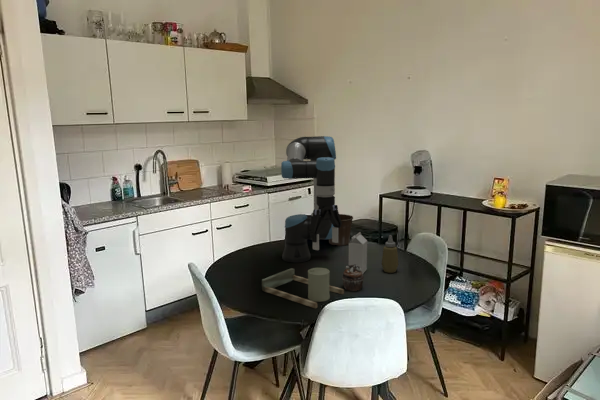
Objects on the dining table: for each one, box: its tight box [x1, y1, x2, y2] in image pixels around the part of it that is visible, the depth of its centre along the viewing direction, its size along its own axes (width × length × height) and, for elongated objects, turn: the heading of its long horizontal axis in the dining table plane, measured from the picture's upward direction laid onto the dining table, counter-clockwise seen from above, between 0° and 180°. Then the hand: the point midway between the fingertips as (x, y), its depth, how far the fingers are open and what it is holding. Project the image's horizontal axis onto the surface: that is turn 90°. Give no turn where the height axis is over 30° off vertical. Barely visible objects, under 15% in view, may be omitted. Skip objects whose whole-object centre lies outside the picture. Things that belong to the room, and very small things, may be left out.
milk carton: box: [348, 231, 368, 275], centre depth 218 cm, size 7×7×19 cm
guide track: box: [261, 267, 345, 309], centre depth 195 cm, size 30×19×5 cm, turn 49°
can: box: [307, 267, 331, 303], centre depth 188 cm, size 9×9×12 cm
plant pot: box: [328, 213, 354, 247], centre depth 268 cm, size 16×16×16 cm
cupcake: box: [341, 264, 365, 292], centre depth 199 cm, size 10×10×10 cm
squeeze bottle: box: [381, 234, 399, 274], centre depth 218 cm, size 8×8×18 cm
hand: (325, 245), depth 188 cm, fingers open, 13 cm apart
